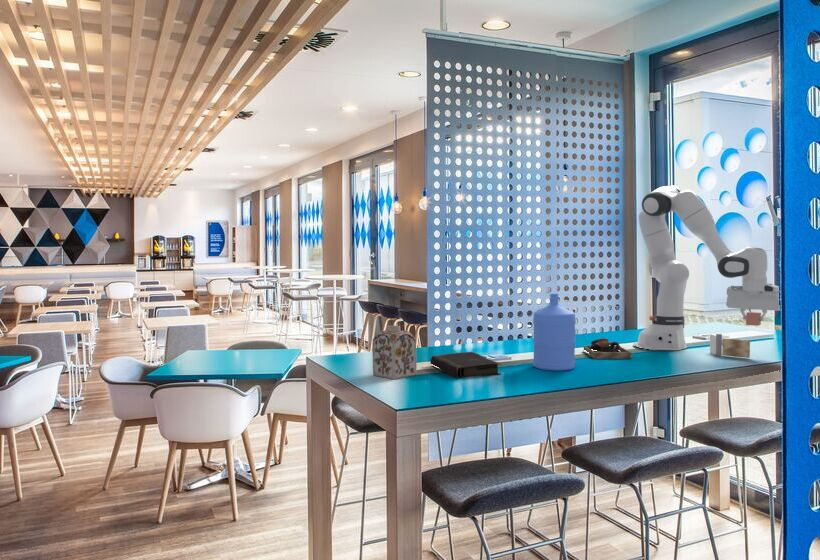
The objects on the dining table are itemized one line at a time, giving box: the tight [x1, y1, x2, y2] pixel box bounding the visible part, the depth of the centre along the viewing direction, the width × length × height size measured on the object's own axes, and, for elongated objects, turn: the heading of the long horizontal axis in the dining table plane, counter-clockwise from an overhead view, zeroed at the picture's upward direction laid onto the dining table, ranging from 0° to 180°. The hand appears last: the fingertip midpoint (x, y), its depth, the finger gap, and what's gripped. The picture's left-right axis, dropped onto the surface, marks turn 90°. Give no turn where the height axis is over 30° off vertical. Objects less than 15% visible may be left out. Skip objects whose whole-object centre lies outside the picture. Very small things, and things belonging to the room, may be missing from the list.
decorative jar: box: [372, 325, 418, 381], centre depth 229 cm, size 12×12×18 cm
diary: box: [430, 351, 502, 379], centre depth 237 cm, size 19×25×5 cm
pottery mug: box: [590, 338, 621, 352], centre depth 265 cm, size 12×10×8 cm
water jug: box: [532, 293, 576, 372], centre depth 241 cm, size 16×16×28 cm
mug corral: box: [583, 345, 633, 360], centre depth 266 cm, size 15×17×2 cm
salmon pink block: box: [745, 311, 762, 327], centre depth 259 cm, size 4×4×5 cm
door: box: [722, 337, 751, 359], centre depth 257 cm, size 10×2×7 cm, turn 48°
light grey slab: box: [709, 333, 723, 357], centre depth 264 cm, size 2×8×9 cm, turn 178°
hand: (753, 320), depth 259 cm, fingers closed on salmon pink block, 4 cm apart
